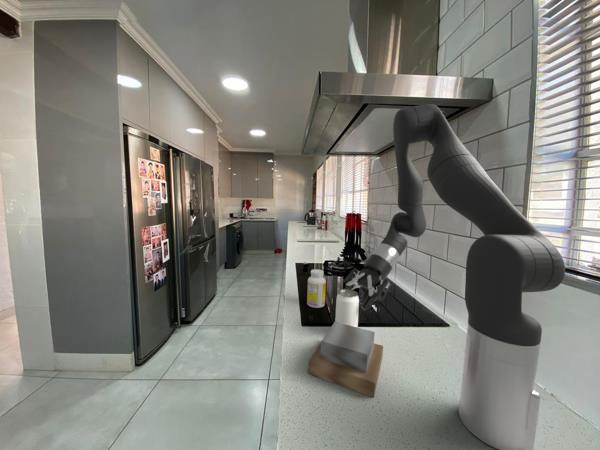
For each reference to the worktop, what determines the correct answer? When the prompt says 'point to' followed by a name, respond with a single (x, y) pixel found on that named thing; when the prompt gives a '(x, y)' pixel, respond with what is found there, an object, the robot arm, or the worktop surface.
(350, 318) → the can
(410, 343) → the worktop surface
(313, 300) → the supplement bottle
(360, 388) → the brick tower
